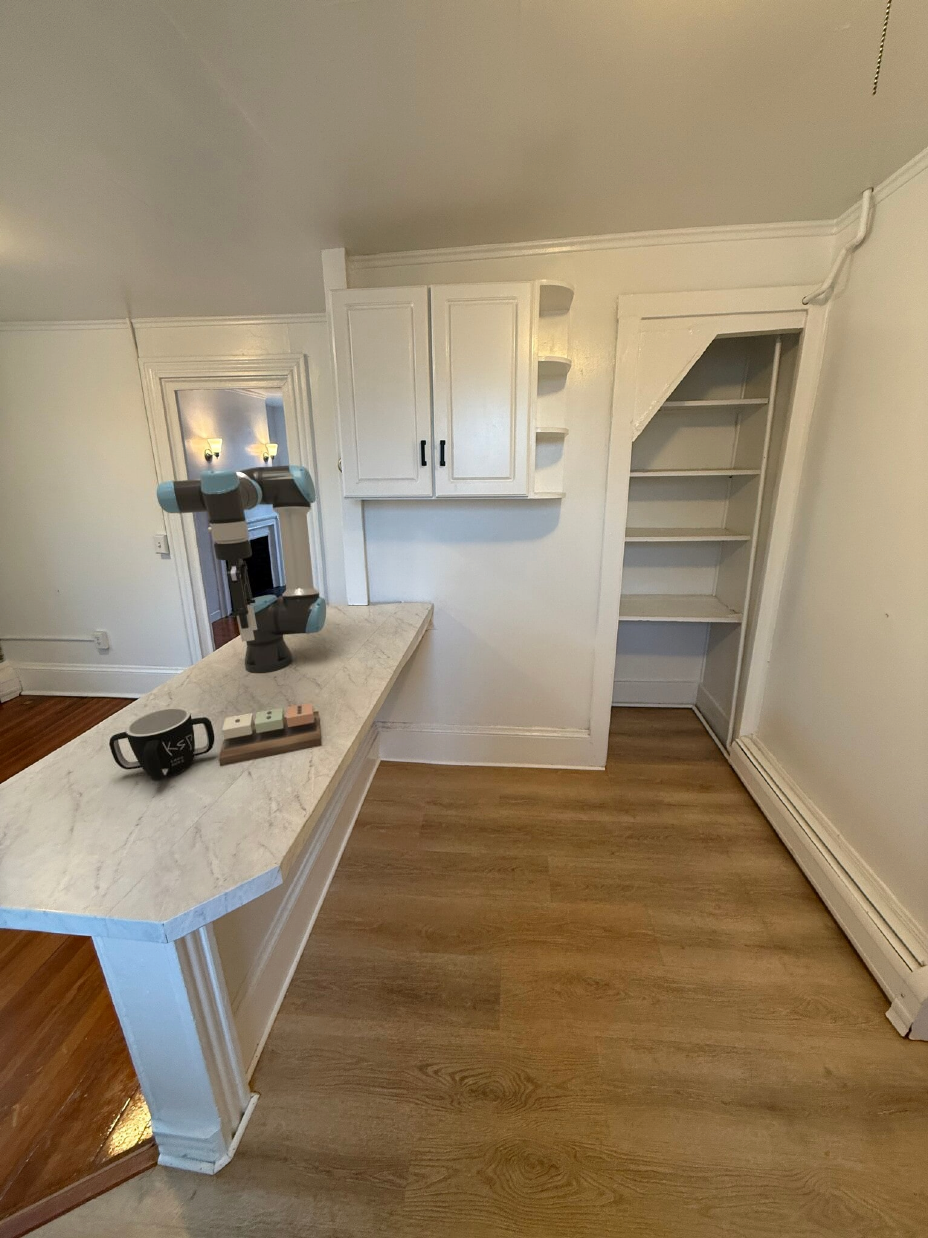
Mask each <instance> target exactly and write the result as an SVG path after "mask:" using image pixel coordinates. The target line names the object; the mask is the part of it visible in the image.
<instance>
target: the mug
mask: <svg viewBox="0 0 928 1238" xmlns="http://www.w3.org/2000/svg"><path fill="white" fill-rule="evenodd" d="M191 715H192V714H191V711H190V710H188V709H186V708H185V707H184V708H183V707H167V708H161V709H158V710H154V711H150V712H148V713H146V714H143V715H140V716H139V717H137V718H135V719H134V720H132V721H131V722H130V723H128V725H127V726H126V727H125V731H122V732H119V733H116V734H113V735H112V736H111V737H110V739H109V748H110V751H111V756H112V757H113V760H114V761H115V763H116V765H118V766H119V767H120V768H121V769H123V770H127V771H129V770H136V769H137V770H138V769H142V770H143V771H144V773H145V774H146V775H147V776H149V777H150V778H151V780H152V781H155V782H160V781H163V780H164V779H166V778H168V777H169V778H170V777H172V776H175V775H178V774H180V773H181V772H183V771H185V770H186V769H188V768H189V767H190V766H191V765H192V764H193V762H194V758H195V757H197V756H201V755H204V754H207V753H209V752H210V751H211V750H212V749H213V747H214V745H215V732H214V728H213V724H212V721H211V720H210V719H209V717H205V716H204V717H194V718H192V716H191ZM196 725H203V727H204V729H205V733H206V738H207V739H206V740H207V743H206V745H204V746H202V747H198V748H195V747H196V743H195V742H196V741H195V730H194V726H196ZM124 739H127V741H128V743H129V746H130V748H131V751H132V753H133V754H134V756H135V758H136V760H135V761H129V760H127V759H126V758H125V757H124V754H123V753H122V750H121V747H120V742H119V741H120V740H124Z"/></svg>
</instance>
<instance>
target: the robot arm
mask: <svg viewBox="0 0 928 1238" xmlns="http://www.w3.org/2000/svg"><path fill="white" fill-rule="evenodd" d="M312 478H313V477H312V476H311V474H310V472H309V469H307V467H305V466H303V465H291V464H290V465H276V466H256V467H252V468H251V467H250V468H247V469H242V470H238V471H236V470H234V469H218V470H217V469H215V470H214V469H213V470H203V471H201V472H200V475H199V478H197V479H185V480H170V481H168V480H167V481H162V482H160V483H159V484H158V486H157V489H156V497H157V498H156V499H157V502H158V504H159V506H160V507H161V509H162V510H163V511H164V512H166V513H168V514H180V515H181V514H188V513H189V514H190V513H205V512H206V513H207V518H208V523H209V526H210V527H207V532H209V533H210V532H211V537H212V541H214V542H215V543H214V544H213V548H214V553H215V557H216V559H217V560H218V561H227V563H228V565H227V567H226V569H225V570H226V576H227V580H228V584H229V591H230V595H231V601H232V607H233V612H232V617H235V616H236V620H237V624H238V630H239V634H240V639H241V642H242V643H243V642H245V644H246V650H245V657H244V668H245V670H246V671H247V672H250V673H255V674H257V673H261V674H262V673H269V672H273V671H278V670H281V669H283V668H285V667H287V666H289V665H291V663H292V662H293V659H294V658H293V655H292V652H291V650H290V648H289V647H288V645H287V643H286V641H285V639H284V636H285V635H286V636H287V635H301V634H306V635H310V634H314V633H319V632H321V631H322V630H323V628H324V625H325V623H326V617H327V603H326V599H325V598H324V597H322V596H321V597H320V592H319V591H318V590H317V589H316V588H315V586H314V577H313V570H312V569H313V566H312V555H311V547H310V535H309V527H308V526H309V525H308V516H307V515H308V513H309V512H310V511H311V510H312V505H311V504H313V503H315V502H316V501H317V500H316V498H317V497H316V496H317V494H316V489H315V485H314V484H315V483H314V481H313V479H312ZM258 505H261V506H262V505H265V506H266V505H267V506H271V505H272V510H273V512H275V513H276V514H277V515H278V521H279V528H280V529H279V531H280V539H281V549H282V550H281V551H282V560H283V569H284V577H285V578H284V579H285V587H286V589H285V591H284V592H283V593H282V597H281V598H282V599H278V597H277V596H276V595H275V594H267V595H262V596H257V597H253V595H252V590H251V589H252V588H251V585H250V580H249V575H248V566H247V561H246V560H243V559H247V558H250V557H251V556H253V555H252V554H253V552H252V547H251V546H252V545H251V541H249V540H248V539H249V537H250V535H249V529H248V523H247V519H246V514H245V511H251V510H252V509H254V508H256V507H257V506H258Z"/></svg>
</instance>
